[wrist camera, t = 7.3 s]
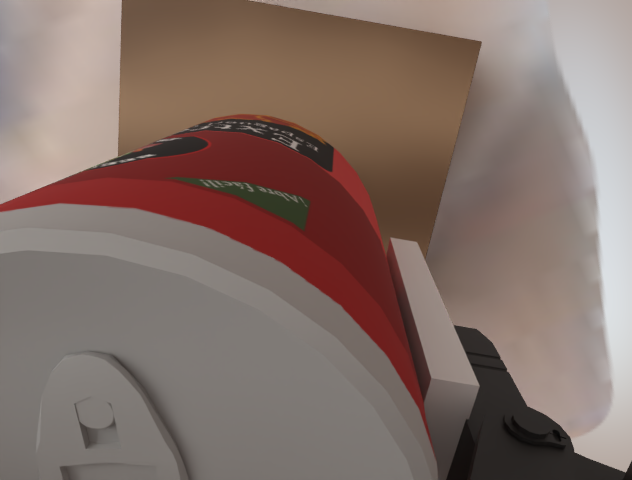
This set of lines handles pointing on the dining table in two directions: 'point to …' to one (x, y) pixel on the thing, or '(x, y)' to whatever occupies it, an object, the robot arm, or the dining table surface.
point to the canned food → (206, 318)
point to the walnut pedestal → (305, 90)
